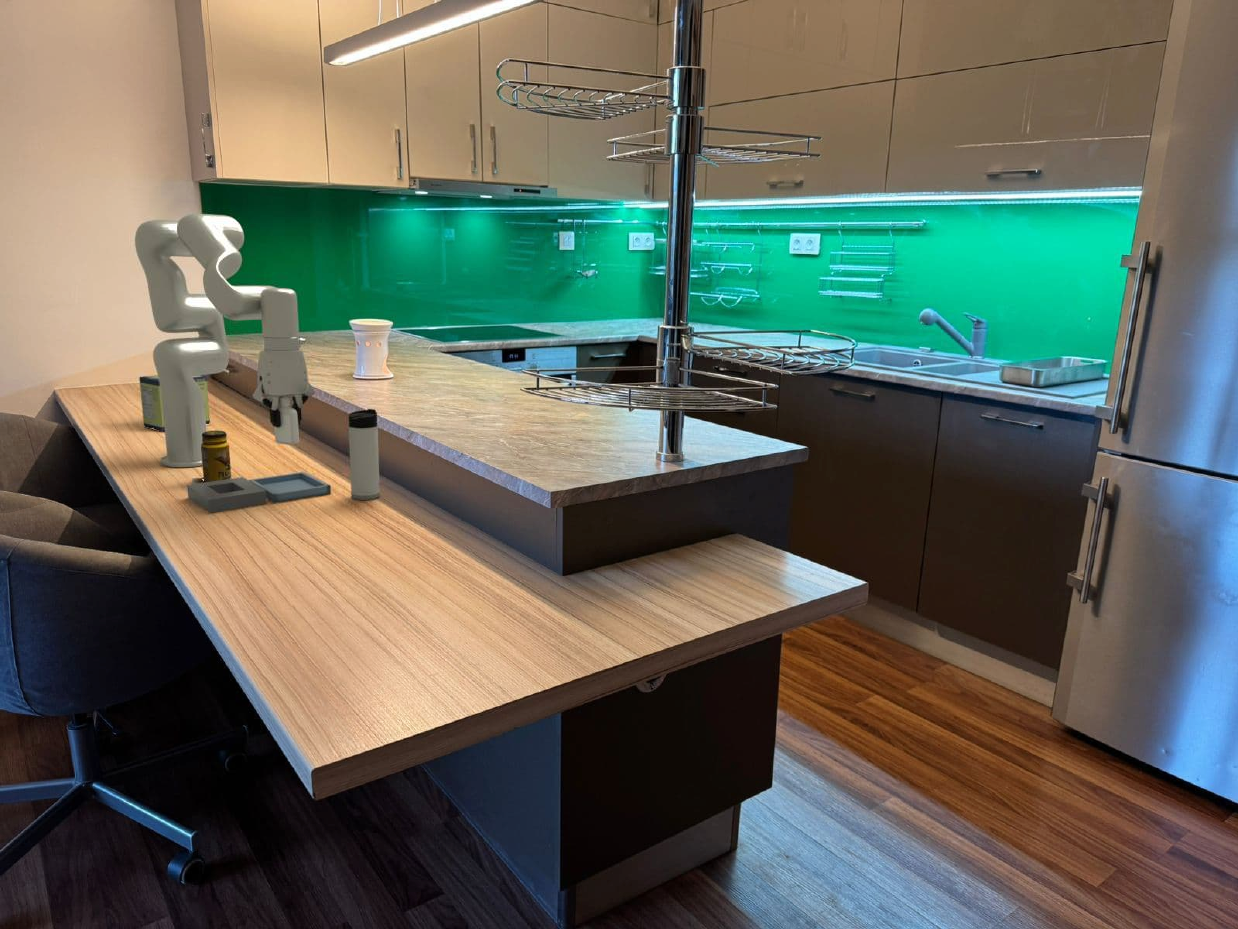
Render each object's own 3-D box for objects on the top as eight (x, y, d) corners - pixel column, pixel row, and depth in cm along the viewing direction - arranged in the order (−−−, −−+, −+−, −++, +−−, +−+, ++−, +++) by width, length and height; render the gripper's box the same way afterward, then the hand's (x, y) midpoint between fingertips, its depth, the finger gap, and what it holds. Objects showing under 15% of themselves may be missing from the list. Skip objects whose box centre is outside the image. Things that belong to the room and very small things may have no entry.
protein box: (211, 425, 262) (207, 375, 259) (162, 432, 250) (157, 380, 246) (191, 420, 268) (187, 371, 264) (142, 427, 255) (137, 376, 251)
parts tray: (249, 488, 198) (248, 479, 197) (303, 479, 206) (303, 471, 206) (274, 503, 187) (274, 494, 187) (330, 493, 196) (330, 485, 195)
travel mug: (386, 495, 197) (384, 410, 192) (367, 502, 191) (364, 414, 186) (365, 491, 199) (362, 407, 194) (345, 497, 193) (342, 411, 188)
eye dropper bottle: (281, 446, 190) (277, 393, 187) (273, 441, 195) (270, 389, 192) (300, 444, 193) (297, 392, 190) (293, 439, 197) (290, 388, 194)
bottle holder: (188, 498, 188) (186, 485, 188) (243, 489, 196) (242, 477, 196) (209, 513, 178) (208, 499, 178) (266, 503, 186) (266, 490, 186)
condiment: (235, 483, 201) (232, 434, 199) (196, 487, 197) (192, 437, 194) (230, 476, 207) (226, 428, 204) (191, 479, 203) (187, 430, 200)
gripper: (310, 341, 197) (314, 418, 201) (236, 344, 186) (242, 426, 190) (324, 344, 191) (328, 424, 196) (249, 348, 180) (255, 432, 185)
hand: (286, 424), depth 193 cm, fingers closed on eye dropper bottle, 3 cm apart
